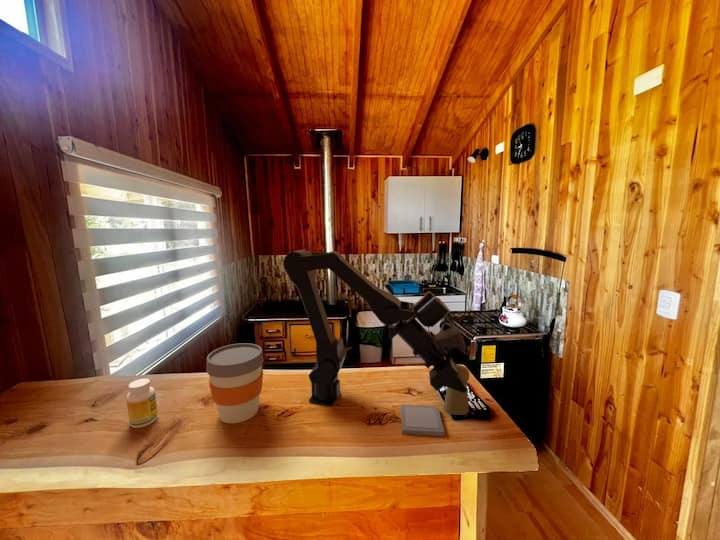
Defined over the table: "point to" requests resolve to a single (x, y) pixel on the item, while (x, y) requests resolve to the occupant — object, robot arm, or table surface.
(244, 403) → the reusable coffee cup
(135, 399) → the supplement bottle
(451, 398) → the cork
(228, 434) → the table surface
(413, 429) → the coaster
